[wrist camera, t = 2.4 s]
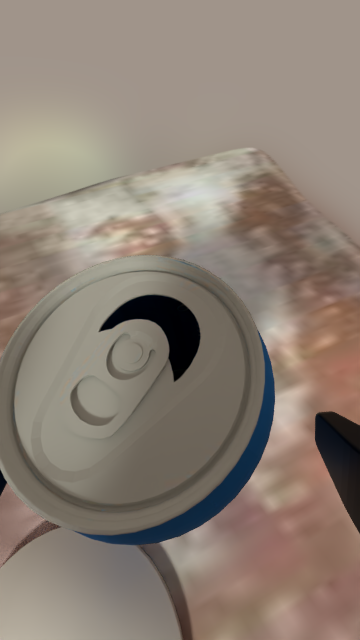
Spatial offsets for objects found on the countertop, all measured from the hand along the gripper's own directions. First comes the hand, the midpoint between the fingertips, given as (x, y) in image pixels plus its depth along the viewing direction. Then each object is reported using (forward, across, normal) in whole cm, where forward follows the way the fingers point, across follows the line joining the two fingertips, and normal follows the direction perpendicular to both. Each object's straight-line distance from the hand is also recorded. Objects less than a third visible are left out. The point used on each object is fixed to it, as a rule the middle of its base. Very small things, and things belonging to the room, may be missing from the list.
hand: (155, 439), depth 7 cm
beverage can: (+7, 0, +6) cm, 9 cm away
